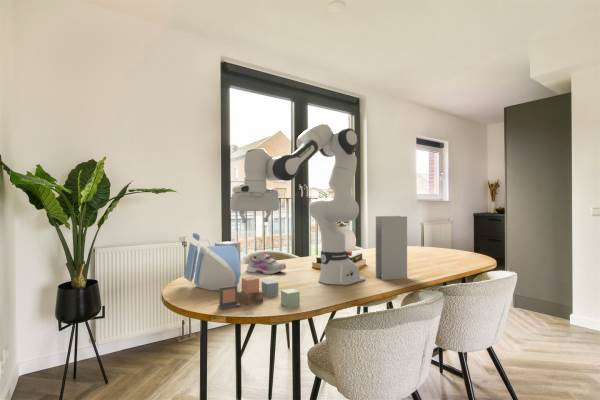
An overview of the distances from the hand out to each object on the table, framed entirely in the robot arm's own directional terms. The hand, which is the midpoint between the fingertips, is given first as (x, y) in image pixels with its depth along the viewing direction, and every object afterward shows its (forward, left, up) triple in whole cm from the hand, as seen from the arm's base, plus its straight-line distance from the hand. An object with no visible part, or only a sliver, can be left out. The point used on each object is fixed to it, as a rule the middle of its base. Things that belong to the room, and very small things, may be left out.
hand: (255, 222), depth 136 cm
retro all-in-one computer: (+9, -20, -29) cm, 37 cm away
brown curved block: (+6, +8, -29) cm, 31 cm away
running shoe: (-22, -35, -30) cm, 51 cm away
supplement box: (-2, -37, -29) cm, 47 cm away
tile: (+15, +10, -29) cm, 34 cm away
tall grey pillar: (-68, +10, -29) cm, 75 cm away
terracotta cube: (+6, +8, -25) cm, 27 cm away
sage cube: (-5, +19, -29) cm, 35 cm away
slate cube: (-5, +3, -29) cm, 30 cm away
